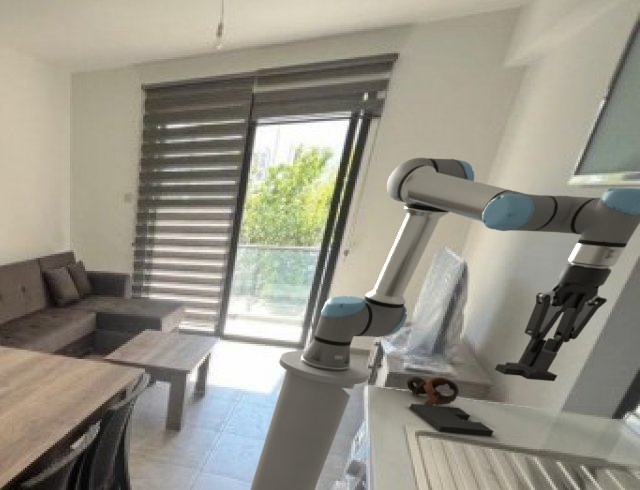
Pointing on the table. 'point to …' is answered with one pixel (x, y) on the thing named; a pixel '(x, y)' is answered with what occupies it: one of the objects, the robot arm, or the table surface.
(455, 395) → the brown double ring
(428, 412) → the large pad
